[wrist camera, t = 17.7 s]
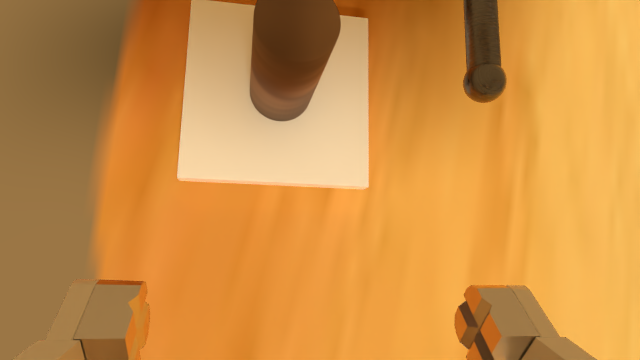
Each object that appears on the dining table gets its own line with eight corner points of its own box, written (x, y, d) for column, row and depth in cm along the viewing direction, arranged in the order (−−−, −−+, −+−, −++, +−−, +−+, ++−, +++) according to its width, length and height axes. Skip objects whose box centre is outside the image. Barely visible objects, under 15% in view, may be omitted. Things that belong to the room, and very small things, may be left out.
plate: (364, 25, 32) (368, 18, 31) (364, 189, 30) (368, 187, 29) (193, 6, 30) (191, -2, 29) (179, 180, 28) (177, 177, 27)
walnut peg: (311, 65, 29) (341, -15, 21) (310, 123, 29) (340, 65, 20) (250, 60, 29) (255, -26, 20) (248, 119, 28) (251, 56, 19)
